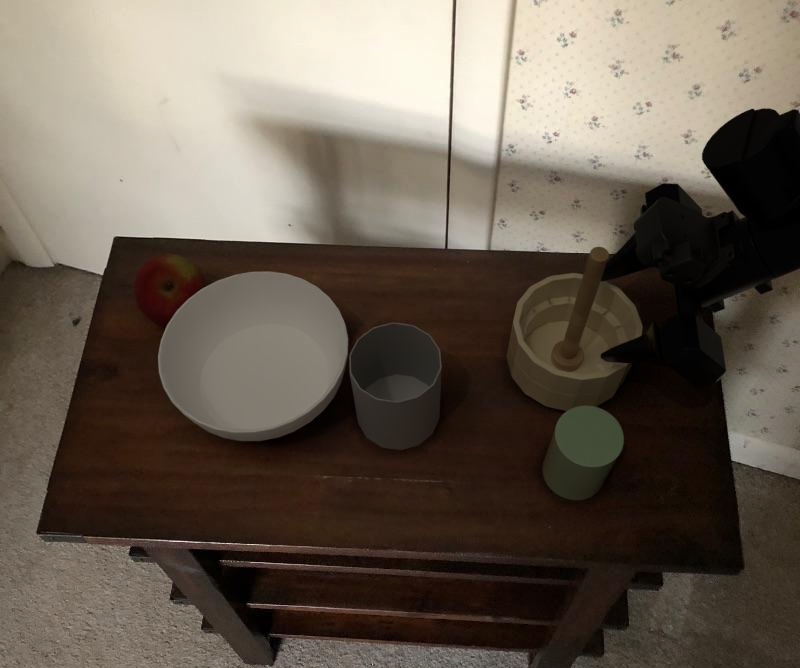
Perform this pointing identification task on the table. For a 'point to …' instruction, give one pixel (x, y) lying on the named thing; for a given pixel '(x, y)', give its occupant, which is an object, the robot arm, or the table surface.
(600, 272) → the stirring stick
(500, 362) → the table surface
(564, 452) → the green cylinder pedestal
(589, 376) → the mixing bowl
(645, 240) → the robot arm
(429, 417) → the cup
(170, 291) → the apple
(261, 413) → the bowl
